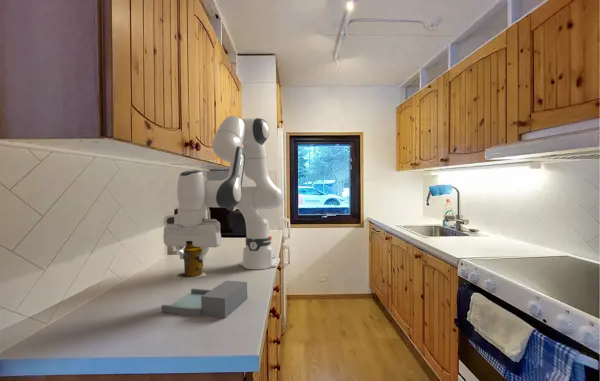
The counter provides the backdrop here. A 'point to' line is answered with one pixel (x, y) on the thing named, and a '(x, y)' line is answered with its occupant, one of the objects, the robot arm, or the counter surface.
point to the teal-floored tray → (211, 301)
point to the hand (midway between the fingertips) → (192, 259)
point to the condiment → (192, 262)
